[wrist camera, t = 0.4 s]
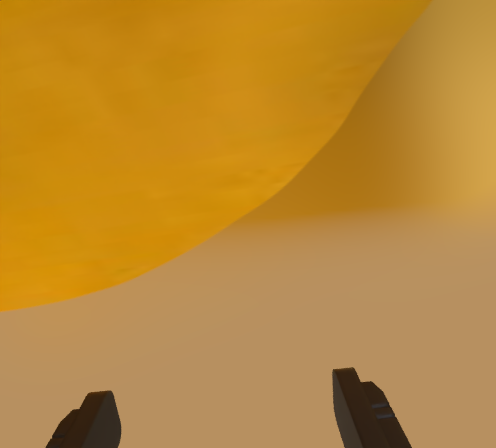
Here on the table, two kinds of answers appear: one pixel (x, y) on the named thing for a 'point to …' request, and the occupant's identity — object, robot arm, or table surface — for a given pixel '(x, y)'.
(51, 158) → the table surface
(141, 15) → the table surface
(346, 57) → the table surface
